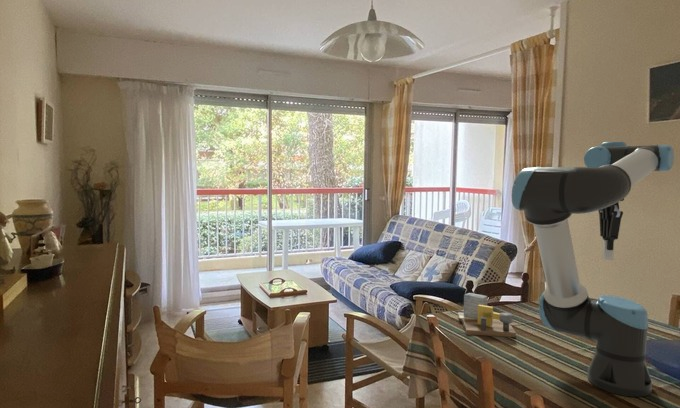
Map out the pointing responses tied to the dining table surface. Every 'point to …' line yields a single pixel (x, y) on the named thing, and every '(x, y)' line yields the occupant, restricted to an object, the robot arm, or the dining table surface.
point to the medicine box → (473, 304)
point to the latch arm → (492, 315)
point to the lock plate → (486, 327)
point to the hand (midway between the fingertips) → (607, 259)
